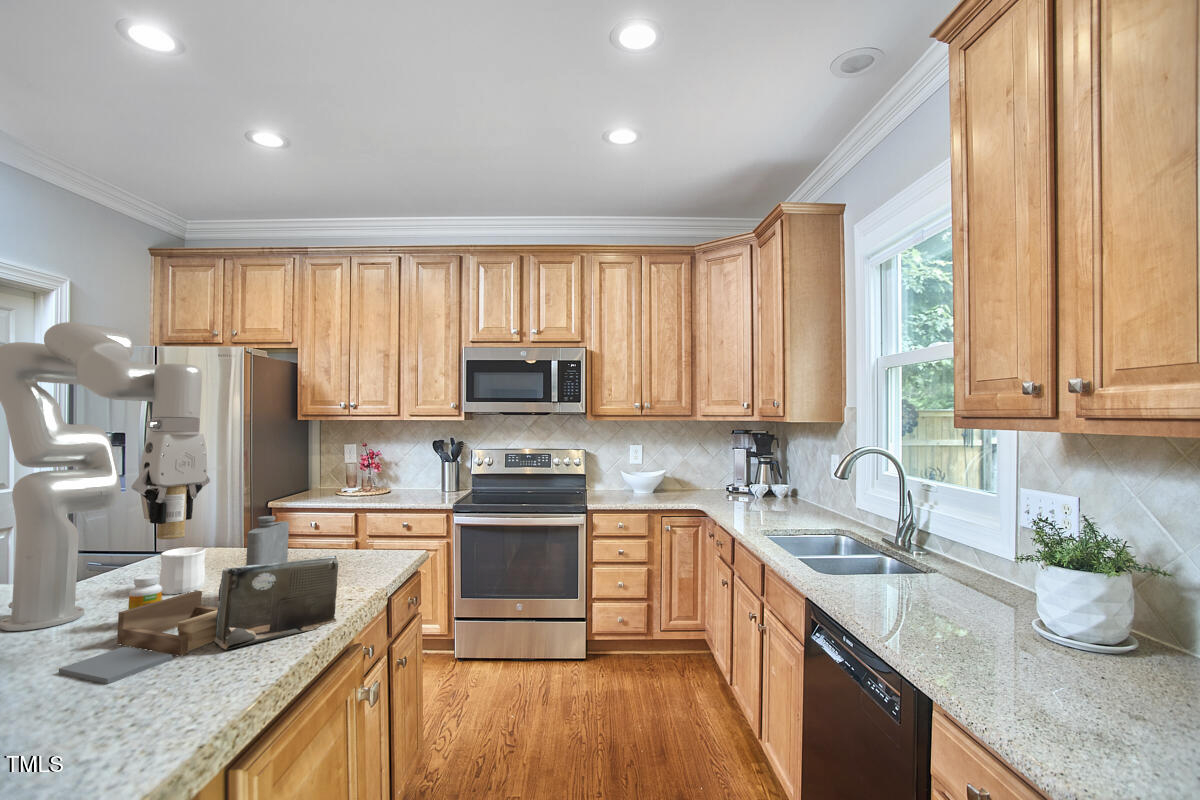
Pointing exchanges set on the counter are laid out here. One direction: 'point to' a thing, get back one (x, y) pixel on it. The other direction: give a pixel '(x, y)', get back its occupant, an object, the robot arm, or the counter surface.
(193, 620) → the offcut stack
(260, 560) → the hip flask
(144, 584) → the supplement bottle
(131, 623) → the rack
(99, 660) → the rubber mat
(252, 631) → the radio
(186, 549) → the cup
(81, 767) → the counter surface
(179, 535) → the sprinkles bottle
